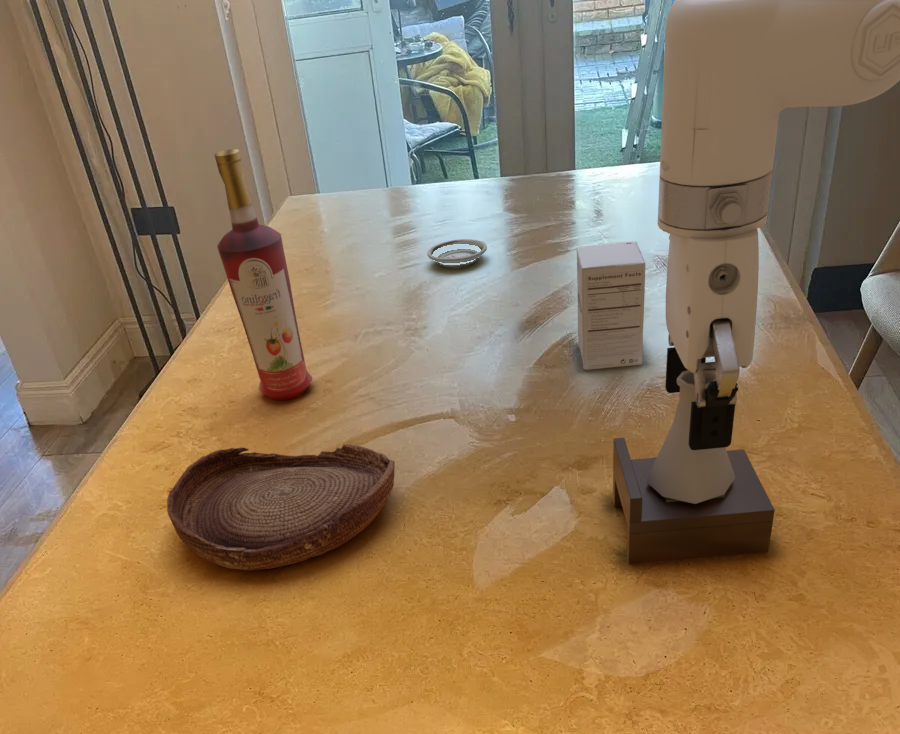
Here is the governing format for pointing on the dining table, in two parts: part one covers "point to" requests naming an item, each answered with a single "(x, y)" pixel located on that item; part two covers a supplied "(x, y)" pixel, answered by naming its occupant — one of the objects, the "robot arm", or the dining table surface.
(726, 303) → the robot arm
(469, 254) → the saucer
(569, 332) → the dining table surface
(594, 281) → the white packaging box
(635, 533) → the brown toy bed
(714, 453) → the flask
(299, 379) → the liquor
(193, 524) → the basket
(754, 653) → the dining table surface
